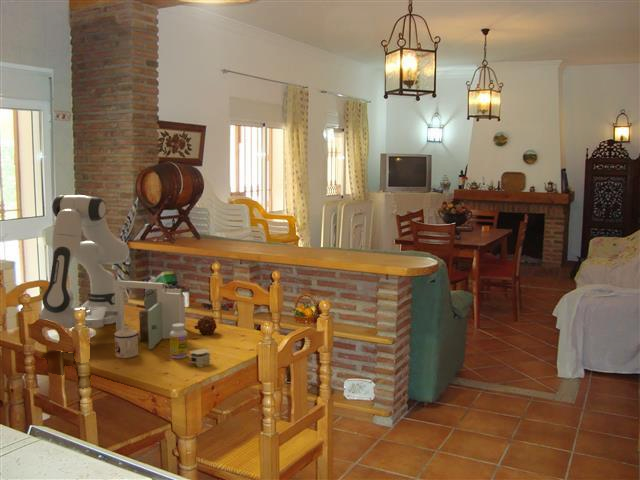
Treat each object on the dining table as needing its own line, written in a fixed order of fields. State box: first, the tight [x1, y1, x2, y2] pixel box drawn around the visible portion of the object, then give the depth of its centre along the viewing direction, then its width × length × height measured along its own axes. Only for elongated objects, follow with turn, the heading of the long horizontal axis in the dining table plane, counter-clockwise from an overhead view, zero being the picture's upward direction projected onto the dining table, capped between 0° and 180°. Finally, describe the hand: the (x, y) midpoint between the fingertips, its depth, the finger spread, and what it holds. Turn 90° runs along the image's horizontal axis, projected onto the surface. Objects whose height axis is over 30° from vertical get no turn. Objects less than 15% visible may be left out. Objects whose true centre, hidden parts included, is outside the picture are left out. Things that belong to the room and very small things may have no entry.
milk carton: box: [166, 288, 186, 326], centre depth 281 cm, size 7×7×19 cm
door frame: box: [114, 279, 182, 340], centre depth 270 cm, size 31×2×24 cm, turn 74°
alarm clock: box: [143, 287, 167, 310], centre depth 304 cm, size 12×7×15 cm, turn 110°
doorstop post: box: [138, 309, 149, 344], centre depth 264 cm, size 5×5×13 cm
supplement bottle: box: [169, 323, 189, 360], centre depth 243 cm, size 7×7×13 cm
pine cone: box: [194, 315, 218, 336], centre depth 276 cm, size 8×8×12 cm
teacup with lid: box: [113, 325, 139, 359], centre depth 243 cm, size 12×9×12 cm
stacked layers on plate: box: [189, 348, 212, 368], centre depth 234 cm, size 10×9×6 cm
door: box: [148, 302, 163, 350], centre depth 259 cm, size 16×3×16 cm, turn 179°
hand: (117, 316), depth 261 cm, fingers open, 8 cm apart
